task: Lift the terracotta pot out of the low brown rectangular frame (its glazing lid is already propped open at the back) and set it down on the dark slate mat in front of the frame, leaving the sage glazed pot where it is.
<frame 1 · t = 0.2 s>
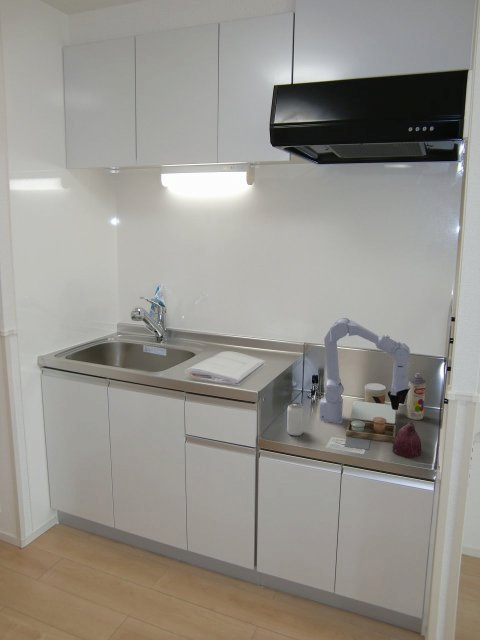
hand: (398, 406, 201), 10 cm above the countertop, tool pointing down, fingers open, 7 cm apart
can: (295, 433, 202), on the countertop
lid: (373, 412, 208), point 5 cm above the countertop, hinge at 158.0°
brown rectangular frame: (370, 434, 199), on the countertop
pot: (379, 432, 200), resting on brown rectangular frame
vegetable: (406, 453, 185), on the countertop
slate mat: (357, 444, 191), on the countertop
aerosol can: (414, 418, 214), on the countertop
coffee cup: (374, 412, 220), on the countertop
glazed pot: (357, 432, 200), resting on brown rectangular frame
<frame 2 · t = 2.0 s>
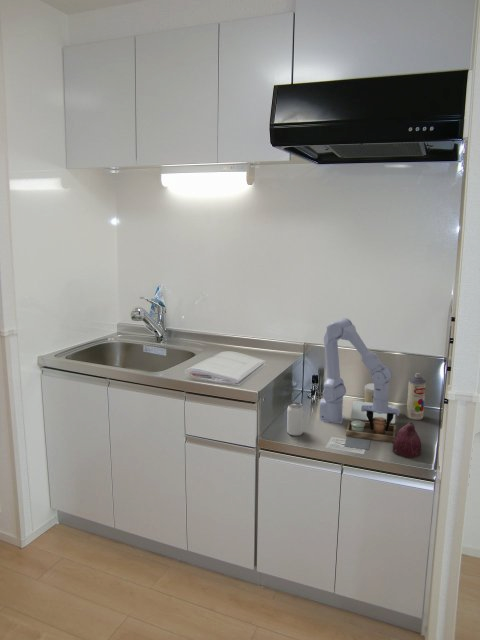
hand: (379, 429, 200), 2 cm above the countertop, tool pointing down, fingers closed on pot, 5 cm apart
pot: (379, 432, 200), resting on brown rectangular frame, touching gripper
everything else where it was.
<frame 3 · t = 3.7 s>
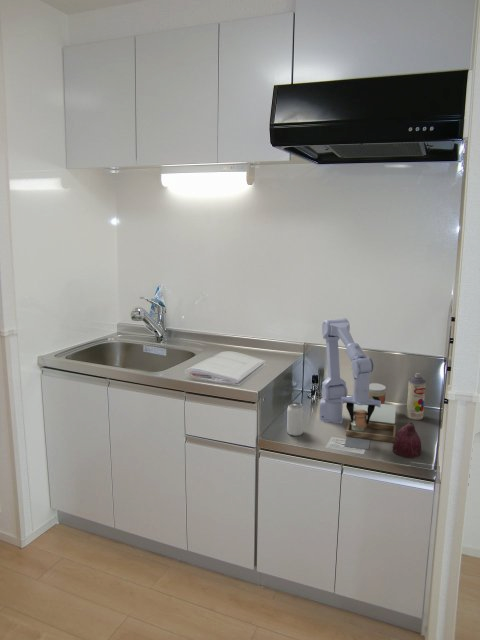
hand: (359, 422, 190), 9 cm above the countertop, tool pointing down, fingers closed on pot, 5 cm apart
pot: (361, 425, 190), point 7 cm above the countertop, tilted 6°, touching gripper
everything else where it was.
when the fingers open (3 cm above the countertop, at t = 5.4 s): pot stays where it is, resting on slate mat.
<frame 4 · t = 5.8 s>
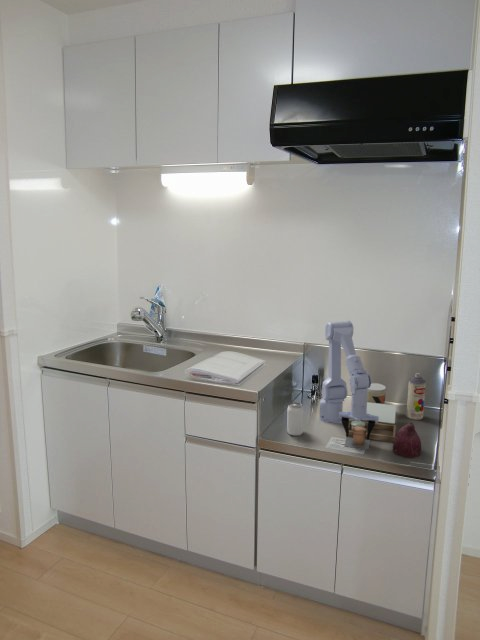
hand: (357, 437, 190), 3 cm above the countertop, tool pointing down, fingers open, 7 cm apart
pot: (358, 442, 191), point 1 cm above the countertop, touching slate mat
everything else where it was.
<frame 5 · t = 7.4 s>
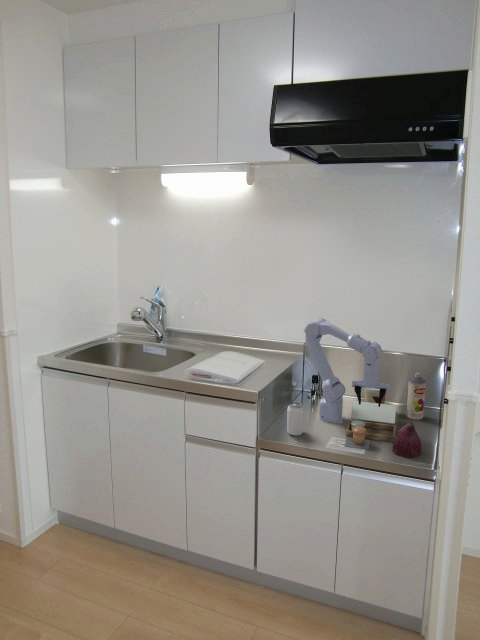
hand: (369, 404, 202), 10 cm above the countertop, tool pointing down, fingers open, 7 cm apart
nothing on the countertop moved.
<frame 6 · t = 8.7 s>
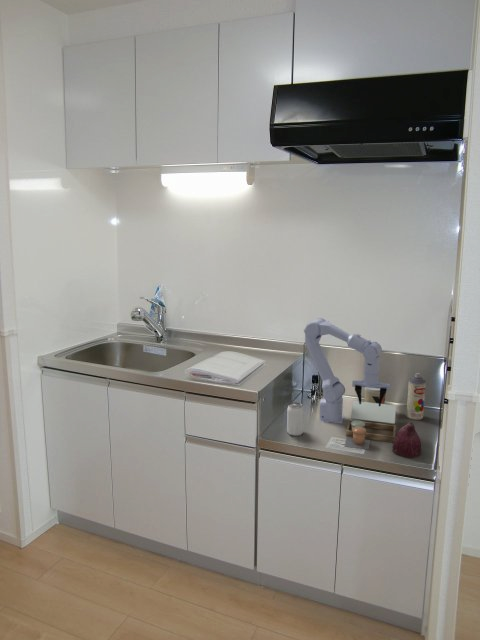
hand: (369, 404, 203), 10 cm above the countertop, tool pointing down, fingers open, 7 cm apart
nothing on the countertop moved.
at the end: pot inside the target area (0.6 cm from its centre), point 0.6 cm above the countertop; pot tilted 0°; glazed pot moved 0.0 cm from its start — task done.
